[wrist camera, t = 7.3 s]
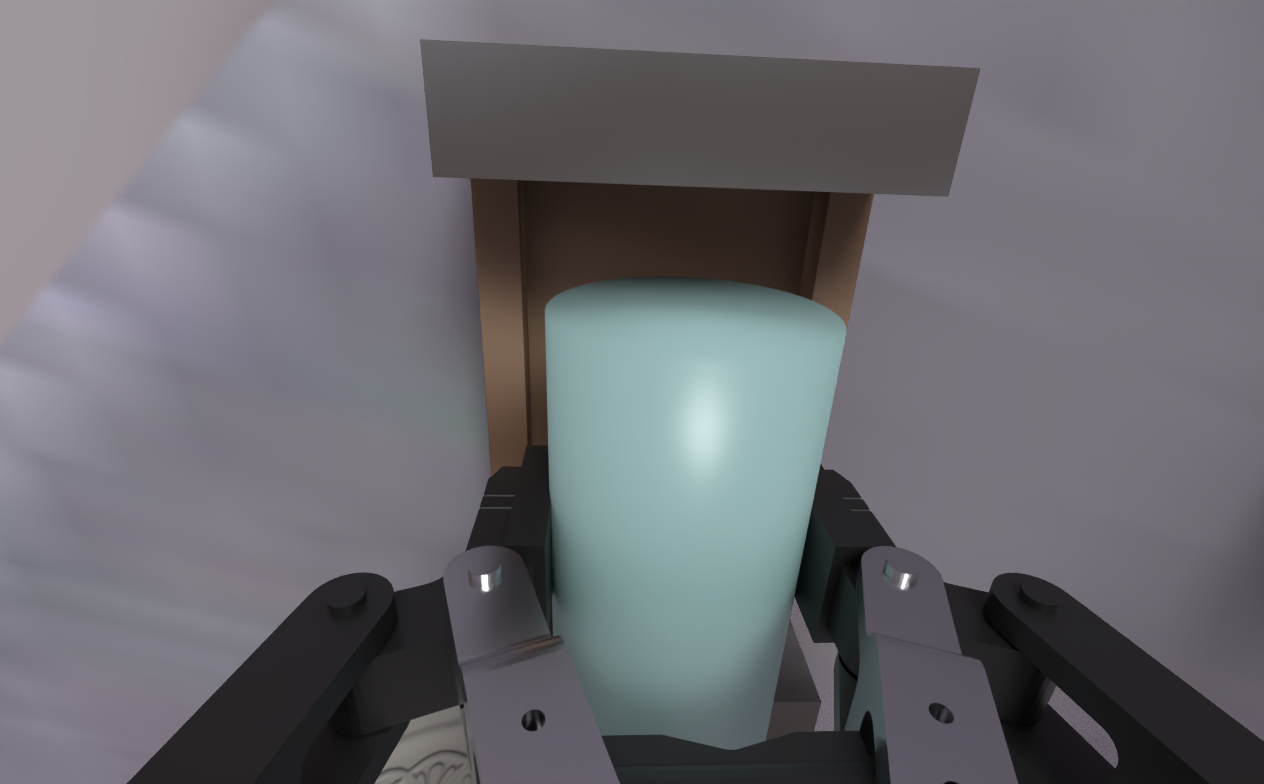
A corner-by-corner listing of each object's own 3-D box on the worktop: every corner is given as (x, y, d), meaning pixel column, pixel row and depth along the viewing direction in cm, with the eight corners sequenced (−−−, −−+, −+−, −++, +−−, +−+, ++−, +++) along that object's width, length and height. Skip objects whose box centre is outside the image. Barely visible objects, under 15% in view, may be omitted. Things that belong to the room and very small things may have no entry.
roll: (480, 309, 10) (758, 397, 7) (659, 265, 13) (887, 311, 10) (510, 724, 14) (690, 885, 11) (640, 603, 17) (800, 700, 14)
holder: (485, 70, 14) (420, 39, 9) (850, 88, 15) (980, 68, 10) (515, 606, 21) (487, 756, 16) (761, 605, 22) (808, 750, 17)
